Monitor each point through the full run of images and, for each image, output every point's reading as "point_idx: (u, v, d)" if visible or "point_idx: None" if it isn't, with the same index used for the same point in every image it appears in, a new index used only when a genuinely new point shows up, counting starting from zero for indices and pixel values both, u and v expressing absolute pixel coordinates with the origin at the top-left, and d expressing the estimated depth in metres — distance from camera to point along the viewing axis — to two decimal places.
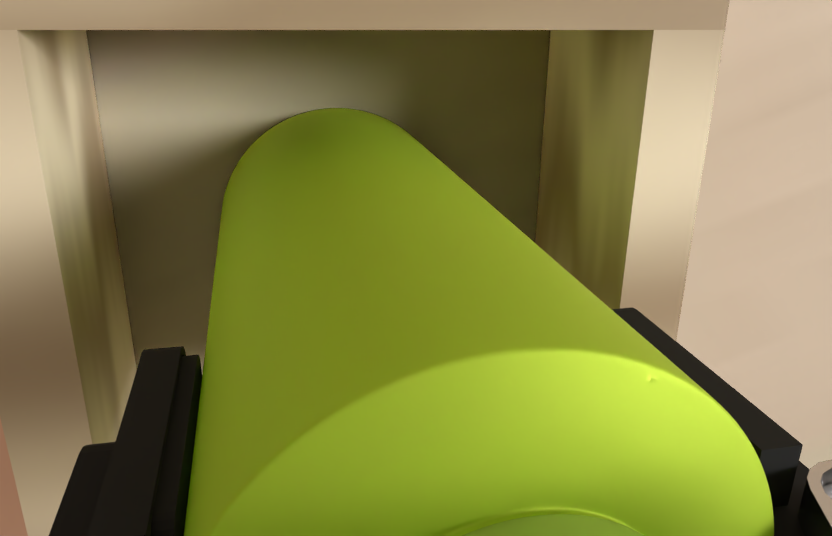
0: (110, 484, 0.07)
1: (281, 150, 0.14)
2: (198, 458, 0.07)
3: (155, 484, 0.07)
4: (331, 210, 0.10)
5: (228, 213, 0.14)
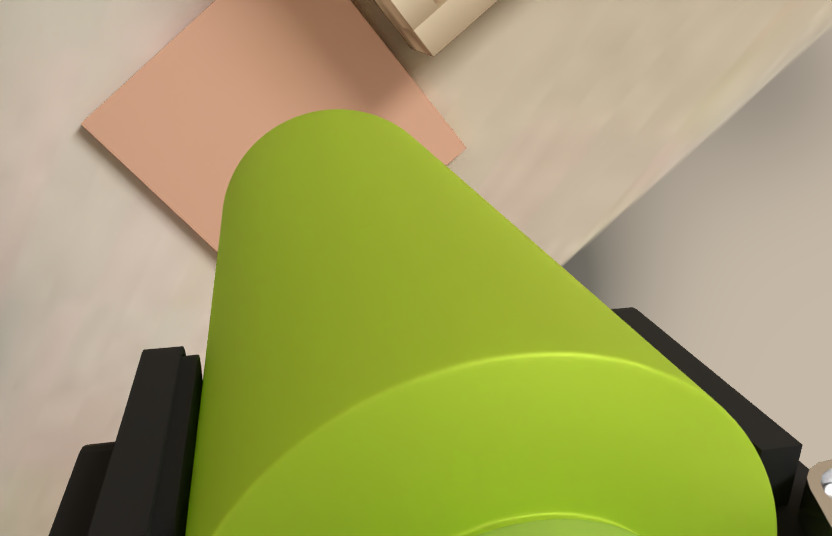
0: (110, 484, 0.07)
1: (282, 151, 0.14)
2: (199, 461, 0.07)
3: (155, 484, 0.07)
4: (332, 212, 0.10)
5: (229, 214, 0.14)
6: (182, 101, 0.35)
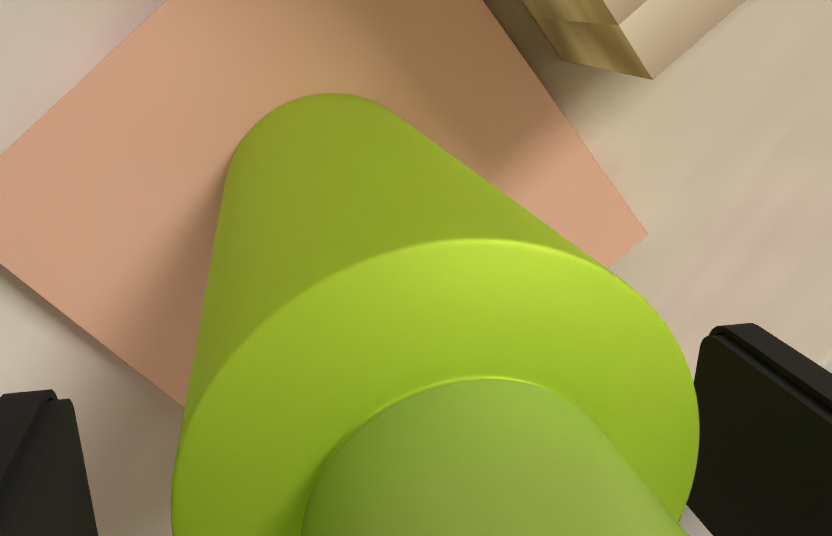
0: None
1: (278, 126, 0.16)
2: (196, 359, 0.08)
3: None
4: (318, 162, 0.11)
5: (229, 184, 0.15)
6: (138, 167, 0.18)
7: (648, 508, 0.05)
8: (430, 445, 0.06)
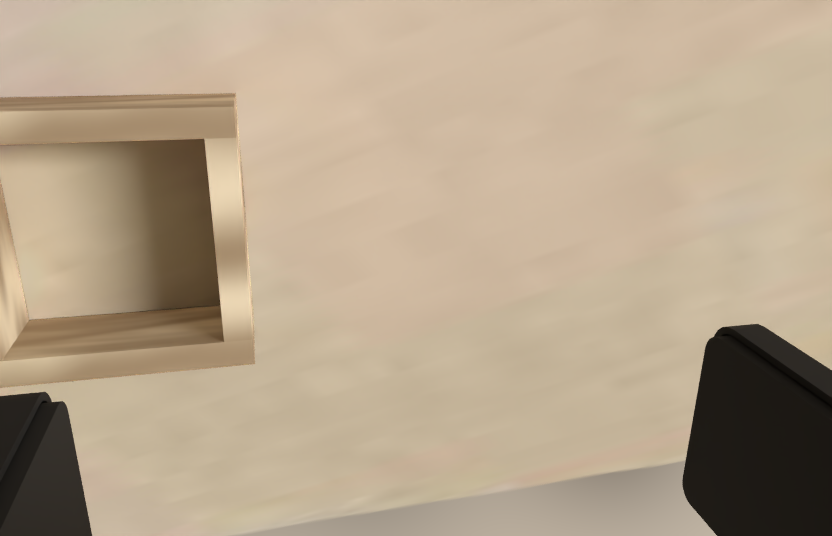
0: None
1: None
2: None
3: None
4: None
5: None
6: None
7: None
8: None
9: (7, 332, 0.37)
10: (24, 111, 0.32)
